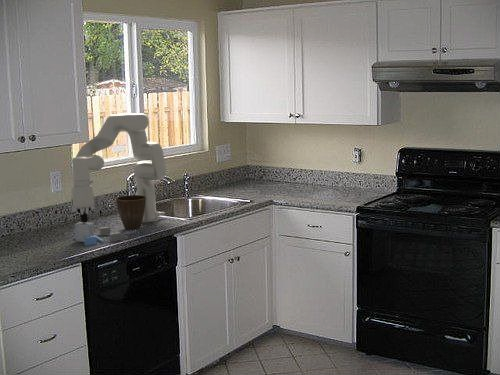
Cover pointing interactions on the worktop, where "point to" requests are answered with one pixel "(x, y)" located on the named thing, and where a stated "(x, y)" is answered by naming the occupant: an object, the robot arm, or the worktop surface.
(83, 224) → the medicine box
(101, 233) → the grey duct
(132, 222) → the plant pot
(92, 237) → the blue duct
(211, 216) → the worktop surface
